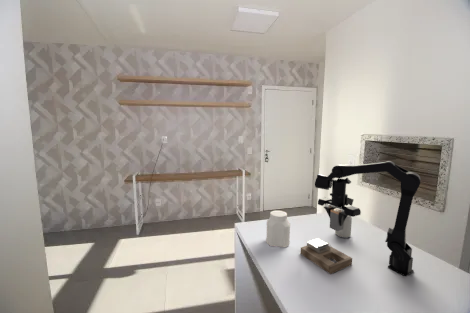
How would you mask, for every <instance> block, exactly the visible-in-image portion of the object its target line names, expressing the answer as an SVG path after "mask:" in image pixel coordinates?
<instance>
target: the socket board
mask: <svg viewBox="0 0 470 313" xmlns="http://www.w3.org/2000/svg"><path fill="white" fill-rule="evenodd" d="M300 255H301V256H303V257H304V258H306V259H308V260H309V261H311V262H312V263H314V264H315V265H316V266H317V267H319V268H321V269H322V270H324V271H325V272H327V273H328V274H330V275H332V274H334V273H337V272H339V271H341V270H344V269H345V268H347V267H350V266H352V265H353V257H352V256H349V255H347V254H345V253H344V252H342V251H340V250H338V249H337V248H334V247H332V246H331V247H330V250H328V251H325V252H322V253H320V254H319V253H317V252H316V251H314V250H312V249H311V248H309V247H308V246H307V245H304V246H302V247H300ZM331 259H332V260H333V261H332V260H331ZM334 261H335V262H334Z"/></svg>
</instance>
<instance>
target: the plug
mask: <svg viewBox="0 0 470 313" xmlns="http://www.w3.org/2000/svg"><path fill="white" fill-rule="evenodd" d="M340 212H342V210H341V209H338V208H336V209H332V210H331V212H330V218H329V229H332V230H334V231H335V230H336V231H340V230H343V227H344V223H343V225H342V226H340V223H339V213H340Z"/></svg>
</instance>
